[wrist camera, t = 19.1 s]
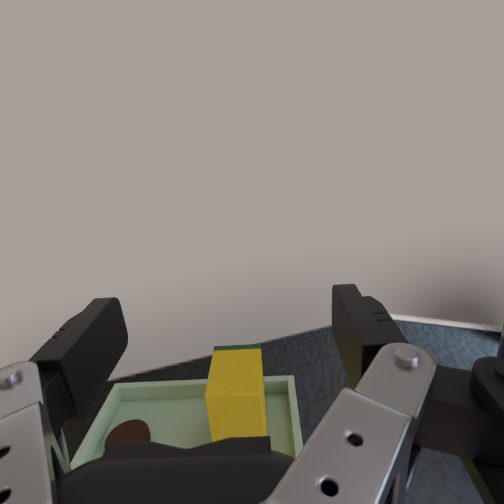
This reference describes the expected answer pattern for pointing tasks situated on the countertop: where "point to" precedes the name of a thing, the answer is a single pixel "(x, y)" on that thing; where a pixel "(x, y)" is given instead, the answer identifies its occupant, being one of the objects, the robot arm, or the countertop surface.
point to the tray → (187, 415)
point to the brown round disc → (129, 432)
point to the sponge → (236, 392)
